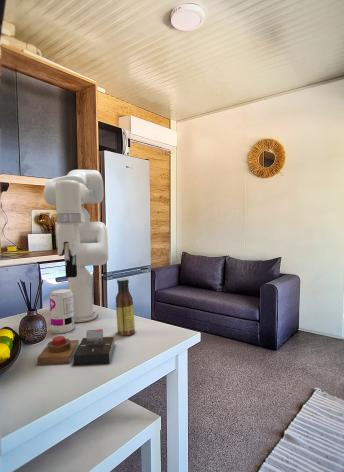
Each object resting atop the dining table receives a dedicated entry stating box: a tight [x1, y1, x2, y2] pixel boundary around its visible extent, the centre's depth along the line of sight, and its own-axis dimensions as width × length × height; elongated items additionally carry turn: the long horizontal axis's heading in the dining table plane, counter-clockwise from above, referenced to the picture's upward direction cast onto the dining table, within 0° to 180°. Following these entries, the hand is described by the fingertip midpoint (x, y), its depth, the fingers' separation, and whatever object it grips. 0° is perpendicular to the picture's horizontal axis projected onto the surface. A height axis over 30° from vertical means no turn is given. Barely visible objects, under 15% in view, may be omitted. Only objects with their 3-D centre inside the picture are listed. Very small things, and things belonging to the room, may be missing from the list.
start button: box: [52, 335, 66, 345], centre depth 94 cm, size 4×4×2 cm
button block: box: [36, 338, 80, 366], centre depth 94 cm, size 12×9×4 cm
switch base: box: [73, 336, 115, 366], centre depth 94 cm, size 13×10×3 cm
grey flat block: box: [86, 328, 104, 346], centre depth 93 cm, size 5×2×5 cm, turn 94°
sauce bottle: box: [115, 277, 136, 336], centre depth 111 cm, size 7×6×20 cm
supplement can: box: [48, 288, 75, 334], centre depth 115 cm, size 8×8×15 cm
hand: (71, 276), depth 98 cm, fingers closed
